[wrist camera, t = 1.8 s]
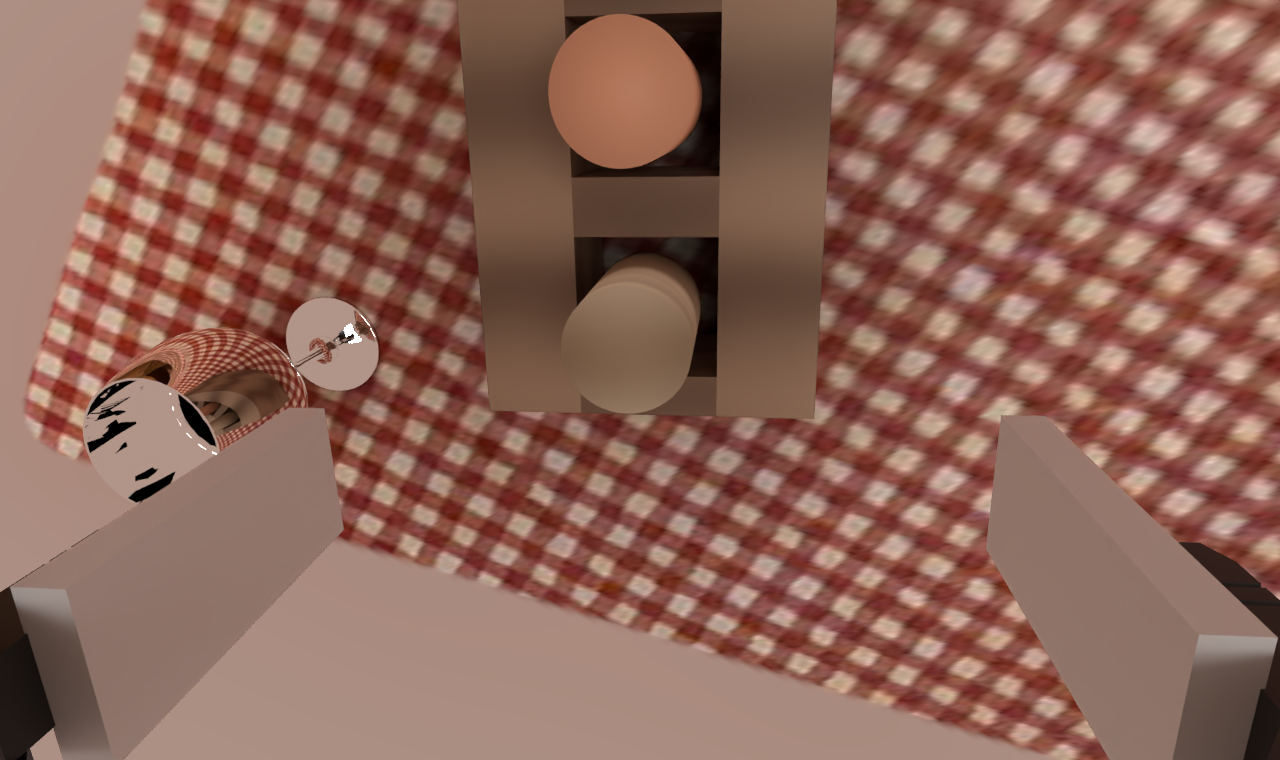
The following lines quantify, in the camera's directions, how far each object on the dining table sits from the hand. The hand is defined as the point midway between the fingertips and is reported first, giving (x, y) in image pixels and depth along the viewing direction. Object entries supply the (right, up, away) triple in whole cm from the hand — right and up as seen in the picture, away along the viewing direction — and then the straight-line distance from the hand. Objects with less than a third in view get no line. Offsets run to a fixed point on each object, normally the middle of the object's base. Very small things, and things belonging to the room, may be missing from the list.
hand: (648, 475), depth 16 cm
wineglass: (-14, +4, +21) cm, 26 cm away
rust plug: (0, +11, +11) cm, 16 cm away
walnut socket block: (+1, +13, +16) cm, 21 cm away
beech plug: (0, +5, +13) cm, 14 cm away
